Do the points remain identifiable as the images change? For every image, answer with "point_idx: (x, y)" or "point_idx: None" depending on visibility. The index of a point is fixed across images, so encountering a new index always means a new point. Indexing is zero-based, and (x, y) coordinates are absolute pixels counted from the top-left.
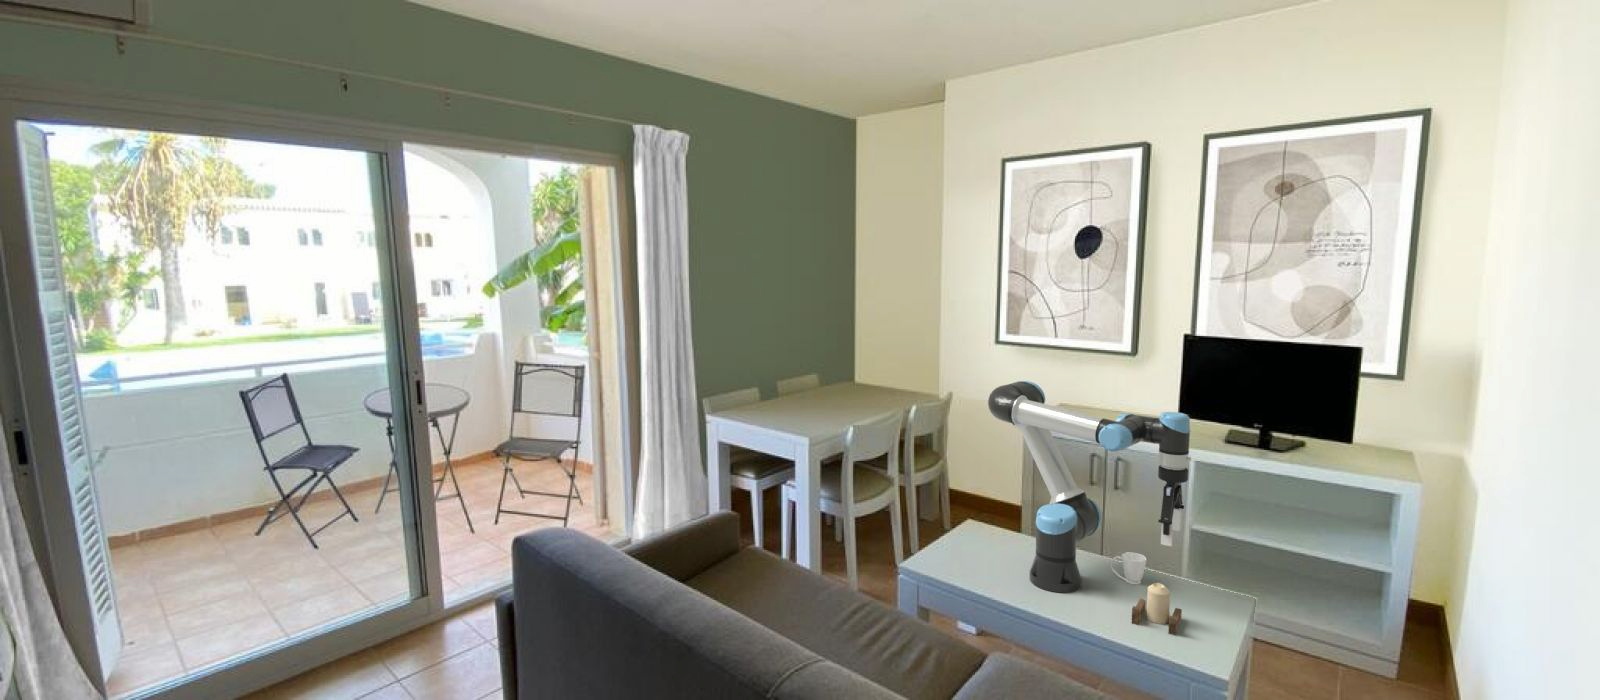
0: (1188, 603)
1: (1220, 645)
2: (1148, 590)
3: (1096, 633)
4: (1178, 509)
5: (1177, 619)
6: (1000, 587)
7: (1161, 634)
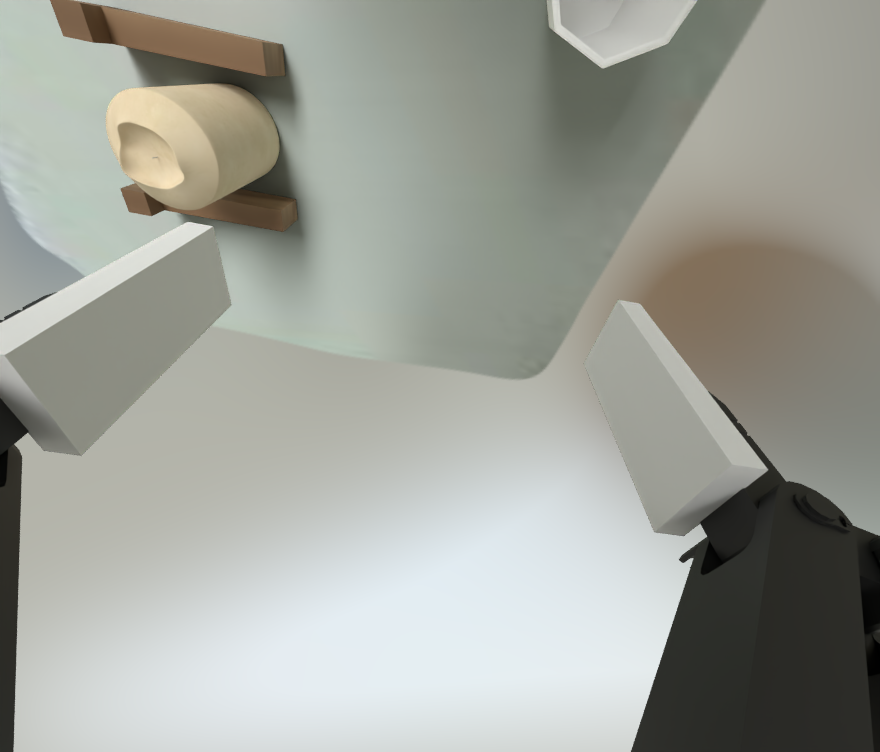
0: (435, 246)
1: None
2: (120, 94)
3: None
4: (679, 521)
5: (191, 214)
6: None
7: None
